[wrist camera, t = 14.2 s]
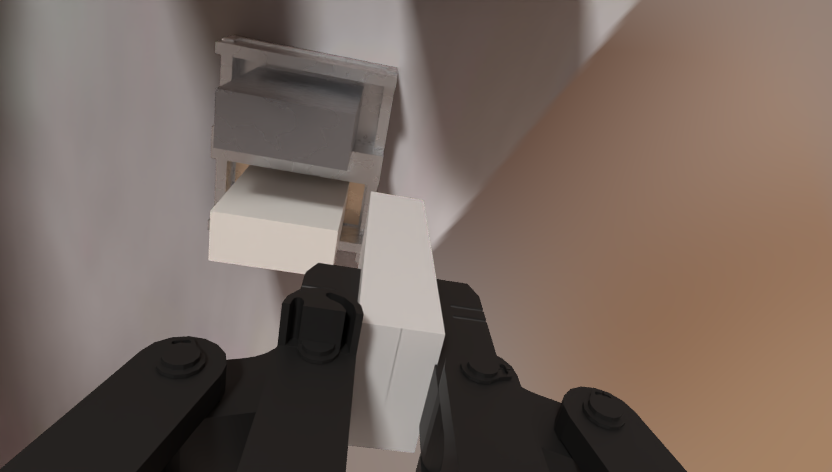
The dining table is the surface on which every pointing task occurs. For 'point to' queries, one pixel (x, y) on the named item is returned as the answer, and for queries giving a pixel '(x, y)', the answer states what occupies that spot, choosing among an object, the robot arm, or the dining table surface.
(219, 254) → the panel
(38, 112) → the dining table surface
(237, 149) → the frame
